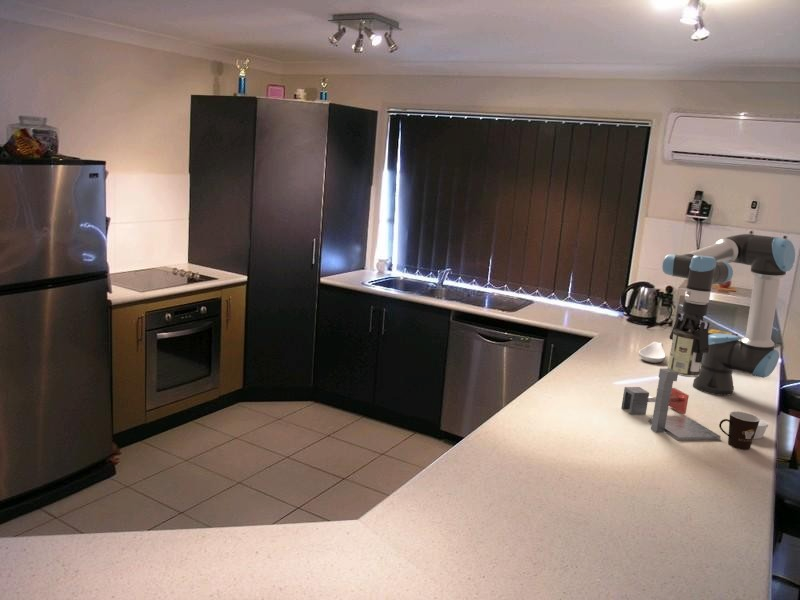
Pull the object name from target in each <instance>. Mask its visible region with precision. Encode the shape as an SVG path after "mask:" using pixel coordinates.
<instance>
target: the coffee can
mask: <svg viewBox="0 0 800 600" xmlns="http://www.w3.org/2000/svg"><path fill="white" fill-rule="evenodd" d="M673 332H674V334H673V340H672V339H671V340H672V342H671V345H670V346H671V347H670V352H669V358H668V362H667V363H668V365H667V369H672V370H675V371H677V372H678V376H680V377H685V378H696V377H698V376H699V373H700V368H701V363H700V367H699V372H691V371H690V369H691V364H692V358H693V353H694V351H696V350H695V342H696V339H698V340H700V336H693V333H691V330H690V329H689V330H688V331H681V330H679V329H675V330H674V331H673ZM699 349H700V348H699Z"/></svg>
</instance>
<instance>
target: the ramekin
mask: <svg viewBox="0 0 800 600" xmlns="http://www.w3.org/2000/svg"><path fill="white" fill-rule="evenodd" d="M758 418H759V419H760V421H759V424H758V427H757V430H756V433H755V435H754V438H753V440H760V439H762V438H763V437H764V435H765V432H766V431H767V428H768V426H769V423H768V422H767V421H766V420H764V419H762V418H760V417H758ZM759 438H760V439H759Z"/></svg>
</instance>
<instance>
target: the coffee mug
mask: <svg viewBox="0 0 800 600" xmlns="http://www.w3.org/2000/svg"><path fill="white" fill-rule="evenodd" d="M759 418H760V417H758V416H757V415H754V414H753V413H748V412H745V411H744V412H743V411H736V410H735V411H730V412H729V419H728V418H724V419H722V420H721V421H720V422H719V424H718V427H719V428H720V429H719V430H721V432H722V433H724V434H725V435H726V436H727V437H728V438H727V441H728V442H727V444H728V445H729V446H730V447H732V448H735V449H738V450H743V451H748V450H750V449H751V447H752V444H753V440H754V439H753V438H754V435H755V433H756V430H757V427H758V424H759V421H760V419H761V418H760V419H759ZM724 422H728V423H729V424H728V433H727V432H726V431H725V430H724V429H723V427H722V424H723V423H724Z"/></svg>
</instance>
